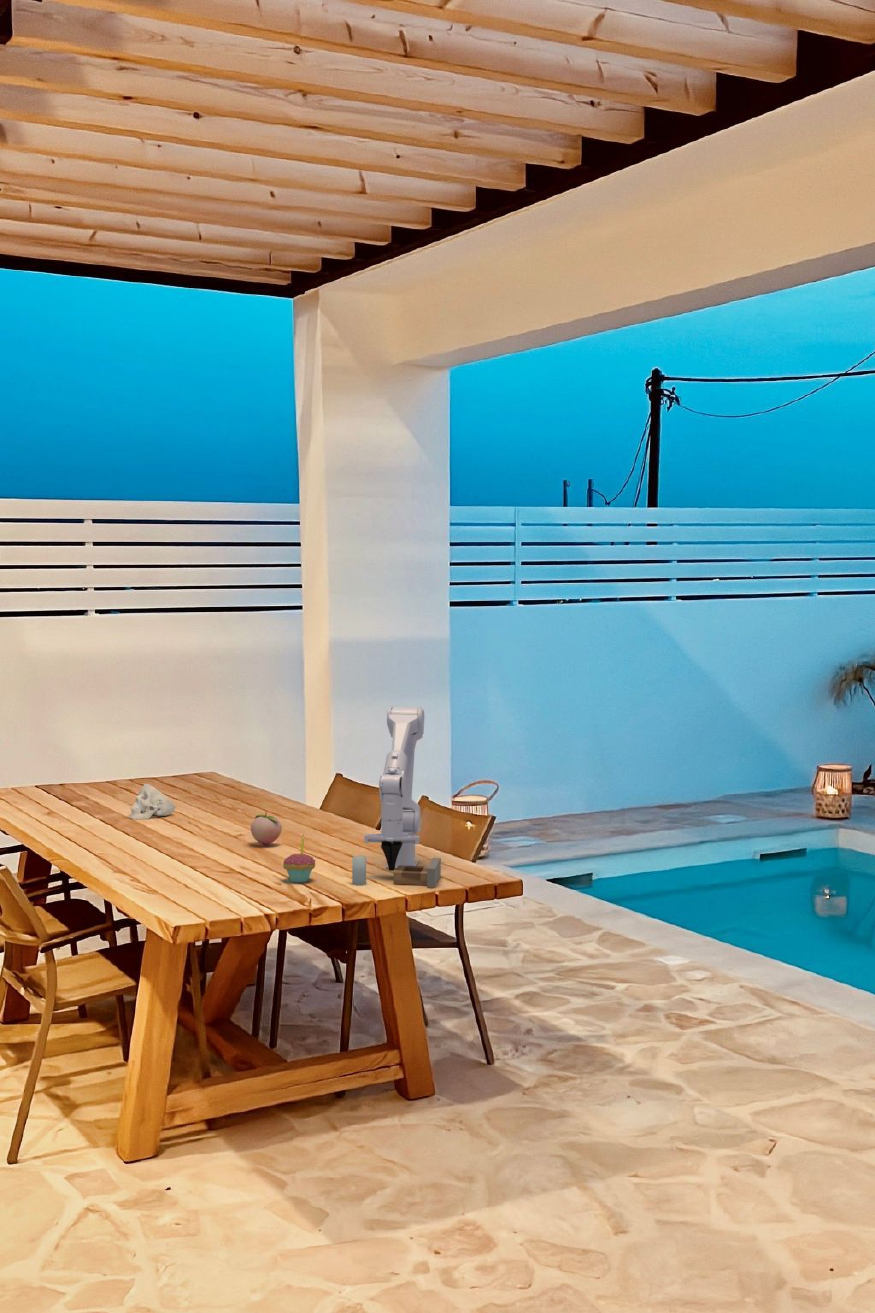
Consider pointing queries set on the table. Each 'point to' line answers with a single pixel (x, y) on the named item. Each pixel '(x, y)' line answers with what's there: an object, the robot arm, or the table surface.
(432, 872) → the wall
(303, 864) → the cupcake
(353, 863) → the dowel
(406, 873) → the brown square frame
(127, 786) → the table surface
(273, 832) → the decorative fruit
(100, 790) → the table surface
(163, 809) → the skull bowl
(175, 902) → the table surface
